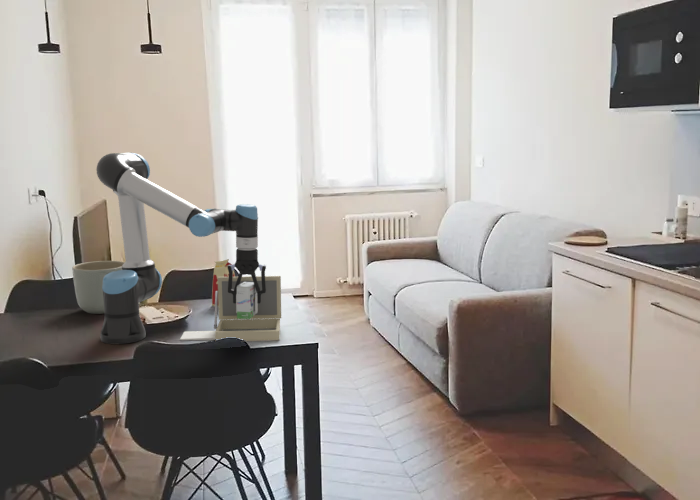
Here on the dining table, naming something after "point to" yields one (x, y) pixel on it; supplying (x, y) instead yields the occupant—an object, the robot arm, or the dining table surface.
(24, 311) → the dining table surface
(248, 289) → the ink box
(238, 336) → the case
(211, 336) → the pad
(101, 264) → the planter
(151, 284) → the robot arm
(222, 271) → the milk carton
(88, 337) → the dining table surface
